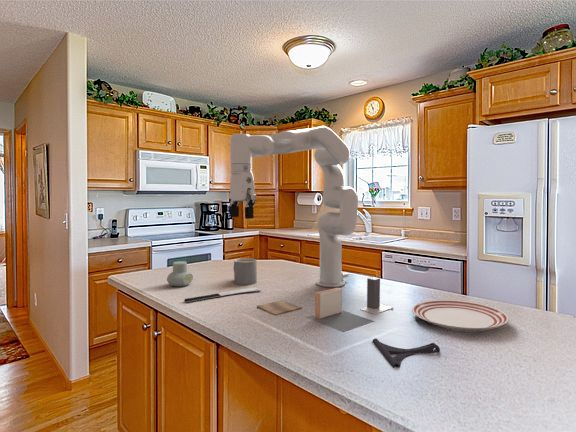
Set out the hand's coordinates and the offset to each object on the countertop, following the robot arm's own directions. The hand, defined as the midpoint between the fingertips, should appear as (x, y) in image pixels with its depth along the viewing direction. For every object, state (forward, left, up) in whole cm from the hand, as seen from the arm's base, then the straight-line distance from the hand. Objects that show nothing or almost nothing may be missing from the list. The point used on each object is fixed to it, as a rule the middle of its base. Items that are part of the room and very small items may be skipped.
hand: (241, 217), depth 132 cm
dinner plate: (-43, +58, -32) cm, 79 cm away
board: (-6, +14, -31) cm, 35 cm away
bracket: (-11, +62, -32) cm, 71 cm away
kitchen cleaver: (0, -15, -32) cm, 35 cm away
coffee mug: (-18, -28, -31) cm, 46 cm away
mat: (-14, +35, -31) cm, 49 cm away
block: (-14, +30, -31) cm, 45 cm away
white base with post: (-31, +36, -31) cm, 57 cm away
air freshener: (+7, -40, -32) cm, 51 cm away
